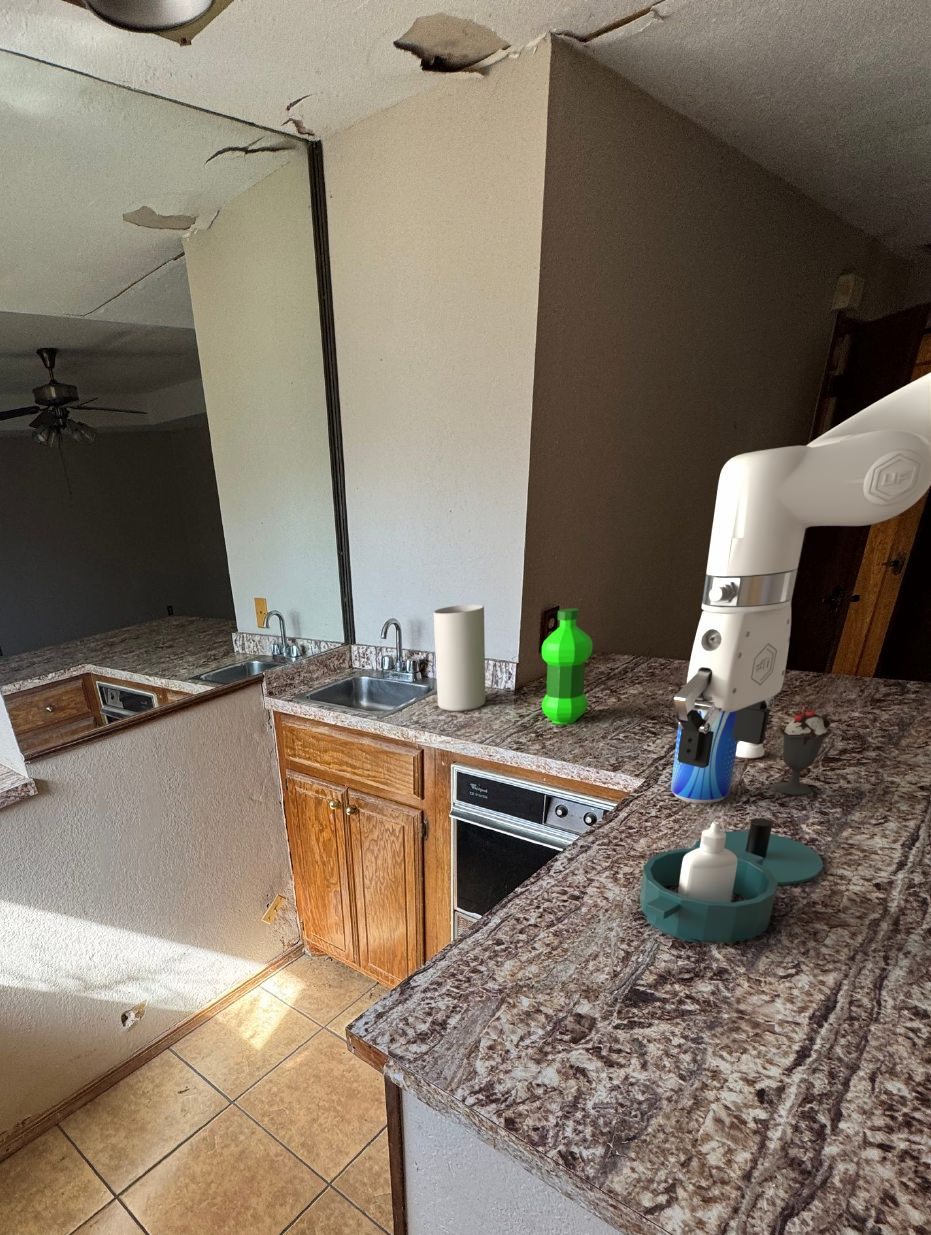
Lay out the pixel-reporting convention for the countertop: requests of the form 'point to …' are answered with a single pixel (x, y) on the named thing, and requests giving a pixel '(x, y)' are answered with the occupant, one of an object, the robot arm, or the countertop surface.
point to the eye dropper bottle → (709, 869)
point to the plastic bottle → (566, 669)
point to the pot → (702, 916)
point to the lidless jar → (749, 750)
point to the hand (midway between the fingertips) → (720, 752)
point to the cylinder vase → (460, 657)
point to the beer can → (718, 774)
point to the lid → (775, 852)
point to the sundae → (802, 747)
